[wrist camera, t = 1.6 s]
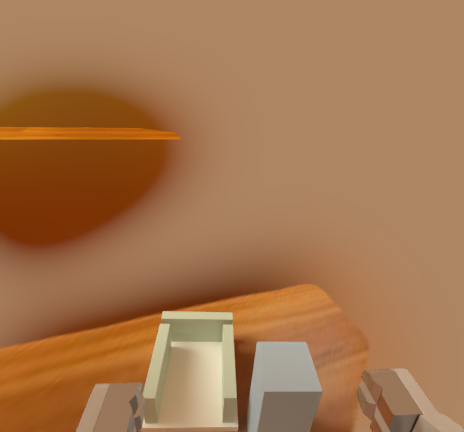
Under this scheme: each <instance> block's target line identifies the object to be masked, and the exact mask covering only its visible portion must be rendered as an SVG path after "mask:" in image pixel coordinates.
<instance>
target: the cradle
mask: <svg viewBox="0 0 464 432" xmlns="http://www.w3.org/2000/svg"><path fill="white" fill-rule="evenodd" d="M232 321H233V318H232V312H170V311H163V313H162V317H161V323H162V324H160V326H159V330H158V334H157V338H156V342H155V346H154V350H153V354H152V359H151V363H150V367H149V371H148V375H147V379H146V383H145V387H144V391H143V395H142V396H144V400H145V411H144V419H143V424H142V428H141V429H140V432H238V411H237V391H236V373H235V355H234V336H233V325H232Z"/></svg>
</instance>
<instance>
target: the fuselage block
mask: <svg viewBox="0 0 464 432" xmlns="http://www.w3.org/2000/svg"><path fill="white" fill-rule="evenodd" d="M322 392H323V391H322V388H321V385H320V382H319V379H318V376H317V373H316V370H315V367H314V364H313V361H312V358H311V355H310V352H309V349H308V346H307V343H306V342H257V346H256V353H255V360H254V367H253V374H252V381H251V388H250V395H249V402H248V409H247V416H246V417H247V430H248V432H310V429H311V426H312V423H313V420H314V417H315V414H316V410H317V407H318V404H319V401H320V398H321V395H322Z"/></svg>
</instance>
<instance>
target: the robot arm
mask: <svg viewBox="0 0 464 432" xmlns="http://www.w3.org/2000/svg"><path fill="white" fill-rule="evenodd" d="M361 377H362V379H363V382H362V383H361V384H360V385H359V387H358V391H357V393H358V400H359V404H360V407H361V409H362V411H363V413H364V414H365V415H366V416H367V417H368V418H369V419H370V420H371V424H370V428H371V430H372V432H464V429H463V428H462V427H461V426H459V425H458V424H457V423H455V422H454V421H452V420H451V419H450V418H448V417H447V416H445V415H444V414H443V413H442V414H439V413H438V412H437V410H436V409H435V408H434V406H433V405H432V403H431V402H430V401H429V399H428V398H427V397H426V395H425V394H424V392H423V391H422V389H421V388H420V387H419V385H418V384H417V382H416V381H415V380H414V378H413V377H412V375H411V374H410V373H409V371H407V370H406V369H404V368H400V369H379V370H365V371H364V372H363V373H362V376H361ZM142 389H143V388H142V383H141V382H132V383H103V384H96V385H95V387H94V388H93V390H92V392H91V395H90V397H89V400H88V402H87V405H86V407H85V410H84V412H83V415H82V417H81V420H80V422H79V425H78V427H77V430H76V432H139V430H140V429H141V428H142V424H143V419H144V411H145V400H144V396H142V395H141V393H142Z"/></svg>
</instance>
